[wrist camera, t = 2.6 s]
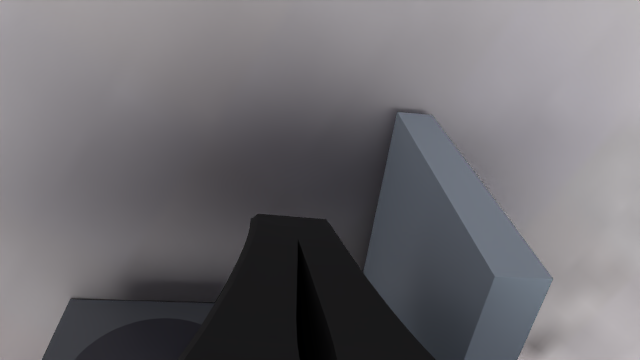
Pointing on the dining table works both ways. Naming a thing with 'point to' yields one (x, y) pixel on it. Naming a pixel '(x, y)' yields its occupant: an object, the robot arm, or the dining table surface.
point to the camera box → (125, 330)
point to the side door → (450, 251)
